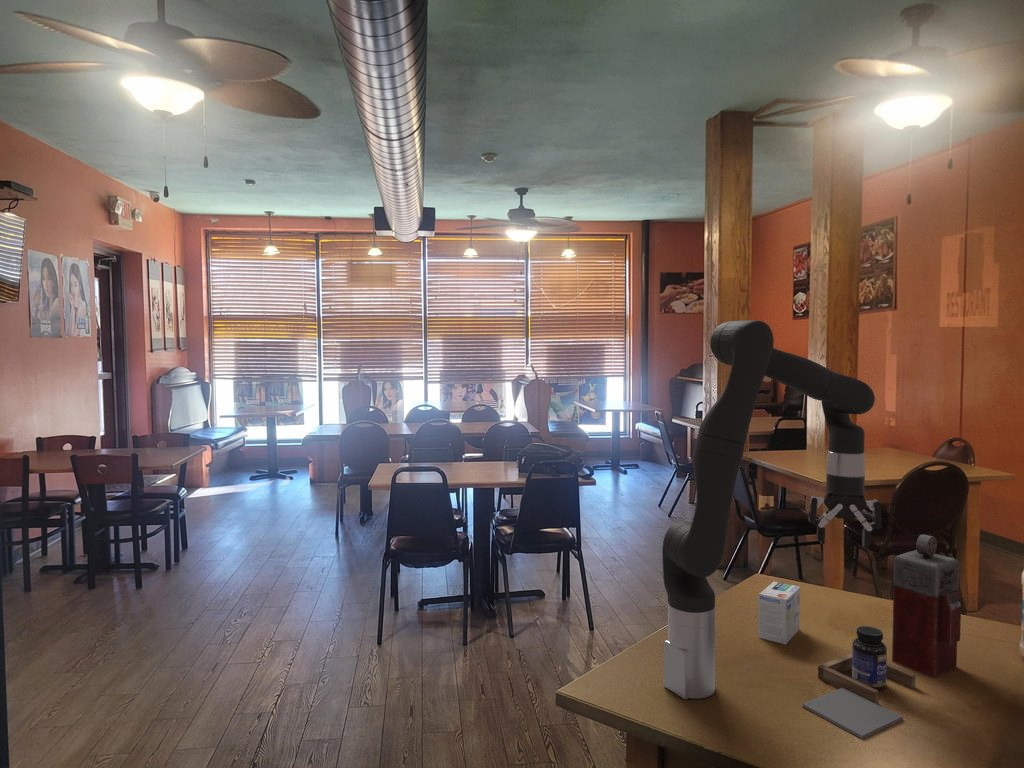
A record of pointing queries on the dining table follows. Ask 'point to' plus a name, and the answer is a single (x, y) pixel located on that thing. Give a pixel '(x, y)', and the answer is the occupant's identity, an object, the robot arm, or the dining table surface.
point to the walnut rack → (833, 676)
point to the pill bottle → (869, 658)
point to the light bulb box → (779, 612)
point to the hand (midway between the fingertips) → (843, 545)
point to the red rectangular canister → (926, 609)
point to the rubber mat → (852, 712)
